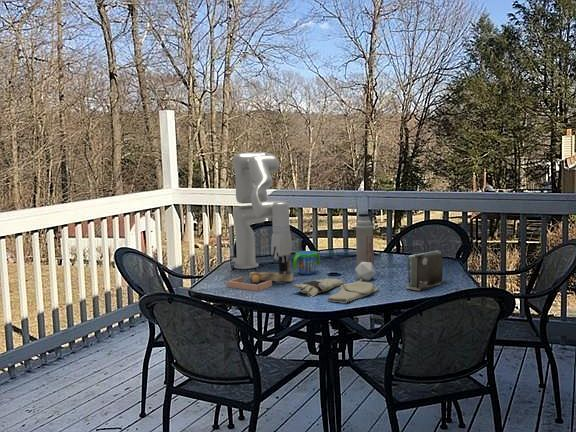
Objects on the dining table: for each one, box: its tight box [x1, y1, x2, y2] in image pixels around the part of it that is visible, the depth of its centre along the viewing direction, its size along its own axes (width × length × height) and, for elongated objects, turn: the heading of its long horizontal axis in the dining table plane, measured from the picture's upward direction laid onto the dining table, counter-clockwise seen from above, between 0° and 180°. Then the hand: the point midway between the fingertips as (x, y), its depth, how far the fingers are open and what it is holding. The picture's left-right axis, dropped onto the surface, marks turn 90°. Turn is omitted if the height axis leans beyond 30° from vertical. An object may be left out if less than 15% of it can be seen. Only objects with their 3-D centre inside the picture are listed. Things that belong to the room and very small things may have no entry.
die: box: [354, 262, 377, 282], centre depth 255 cm, size 8×9×10 cm
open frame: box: [226, 276, 273, 292], centre depth 251 cm, size 17×10×2 cm, turn 56°
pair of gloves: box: [291, 278, 379, 304], centre depth 234 cm, size 30×26×5 cm
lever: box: [248, 259, 294, 282], centre depth 258 cm, size 20×3×9 cm, turn 72°
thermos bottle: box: [355, 213, 375, 268], centre depth 267 cm, size 8×8×28 cm
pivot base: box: [274, 281, 289, 284], centre depth 257 cm, size 6×6×1 cm
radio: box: [405, 249, 444, 291], centre depth 240 cm, size 23×9×15 cm, turn 130°
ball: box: [251, 275, 261, 284], centre depth 257 cm, size 4×4×4 cm
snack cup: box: [292, 250, 321, 275], centre depth 272 cm, size 16×10×10 cm
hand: (283, 270), depth 252 cm, fingers closed
